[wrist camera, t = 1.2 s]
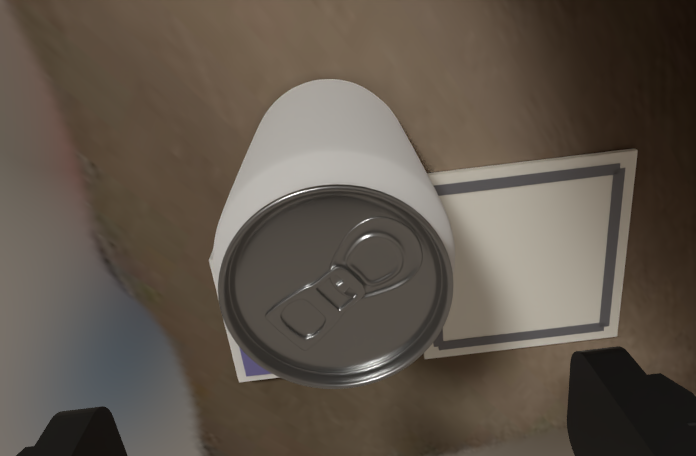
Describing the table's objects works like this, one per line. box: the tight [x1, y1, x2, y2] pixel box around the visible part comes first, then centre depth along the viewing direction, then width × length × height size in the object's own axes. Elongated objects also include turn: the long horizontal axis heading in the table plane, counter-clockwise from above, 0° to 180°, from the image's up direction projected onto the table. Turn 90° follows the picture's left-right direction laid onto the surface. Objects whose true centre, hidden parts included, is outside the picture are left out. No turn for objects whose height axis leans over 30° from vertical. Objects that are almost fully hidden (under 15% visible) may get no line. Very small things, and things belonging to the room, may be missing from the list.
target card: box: [424, 148, 638, 359], centre depth 26 cm, size 10×10×1 cm
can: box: [213, 79, 455, 389], centre depth 19 cm, size 6×6×12 cm
